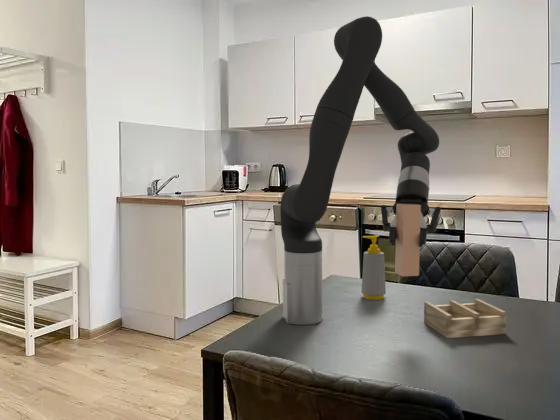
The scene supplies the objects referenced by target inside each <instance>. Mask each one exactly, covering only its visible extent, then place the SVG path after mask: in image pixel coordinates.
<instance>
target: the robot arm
mask: <svg viewBox="0 0 560 420" xmlns="http://www.w3.org/2000/svg"><path fill="white" fill-rule="evenodd" d="M333 37H334V38H333V46H334V50H335V51H336V53H337V55H338V56H339V57H340V59H341V60H342V62H341V65H340V67H339V69H338V72H337V73H336V74H335V77H334V78H333V79H332V81H331V82H330V84H329V85H328V87H327V88H326V89H325V91H324V93H323V94H322V96H321V97H320V99H319V102H318V104H317V107H316V109H315V112H314V115H313V117H312V120H311V125H310V128H309V136H308V138H309V140H308V141H309V142H308V143H309V145H308V148H309V151H308V160H307V164H306V168H305V170H304V173H303V176H302V178H301V181H300V183H297V184H291V185H290V186H288V187H287V188H286V189H285V191H283V193H282V196H281V199H280V207H279V208H280V210H279V211H280V233H281V238H282V242H283V244H284V246H283V247H284V248H283V250H284V251H283V252H284V253H283V254H284V255H283V256H284V257H283V258H284V262H283V263H284V278H283V279H282V317H283V319H284V320H285V322H286V324H292V325H293V324H294V325H301V326H302V325H303V326H307V325H314V324H319V323H321V322H322V320H323V240H322V238H321V236H320V234H319V233H318V230H317V225H316V223H318V222H319V221H320V220H321V219H322V218H323V217H324V215H325V213H326V211H327V210H328V206H329V202H330V197H331V192H332V189H333V188H332V187H333V184H334V179H335V174H336V171H337V168H338V165H339V162H340V159H341V156H342V153H343V150H344V147H345V144H346V140H347V138H348V136H349V132H350V129H351V126H352V124H353V122H354V117H355V113H356V111H357V108H358V105H359V102H360V99H361V96H362V94H363V89H364V87H365V88H366V89H367V91H368V92H369V94H370V95H371V96H372V98H373V99H374V100H375V102H376V103H377V105H378V107H379V108H380V110H381V111H382V113H383V114H384V116H385V118H386V120H387V121H388V123H389V124H390V126H391V128H392V129H393V130H395V131H404V130H405V131H406V130H410V132H408V133H406V134H404V135H402V136H401V137H400V138H399V139H398V141H397V150H398V153H399V157H400V163H401V166H400V173H399V176H398V182H397V187H396V196H395V202H394V203H393V205H392V206H386V205H384V204H382V205H381V206H380V211H381V220H382V227H383V230H384V232H387V231H389V232H388V241H389V242H388V243H390V244H391V246H396V205H397V204H418V205H421V217H420V236H419V247H420V248H423V247H424V246H425V245H426V243H427V238H428V237H427V236H428V234H430V233H431V234H435V233H436V231H437V228H438V226H439V223H440V219H441V216H442V214H441V213H442V210H441V209H442V208H441V207H440V206H436V207H435V208H434V207H433V208H432V207H430V205H429V196H430V195H429V193H430V168H431V161H430V158H429V157H428V156H427V155H429V154H430V153H433V152H435V151H437V149H438V148H439V145H440V138H439V135H438V133H437V131H436V130H435V129H434V128H433V127H432V126H431V125H430V124H429V123H428V122H427V121H426V120H425V119H423V117H422V116H420V114H419V113H418V112H417V111H416V110H415V108H414V106H413V104H412V102H411V101H410V99H409V98H408V96H407V95H406V93H405V91H403V89H402V88H401V87H400V86H399V85H398V84H397V83H396V82H395V81H394V80H392V79H391V78H390V77H389V76H388V75H387V74H385V73H384V72H383V71H382V70H381V68H380V67H379V66H378V65H377V64H376V62H375V60H376V58H377V56H378V54H379V51H380V48H381V46H382V41H383V30H382V26H381V25H380V23H379V21H378V20H377V19H376V18H375V17H372V16H361V17H358V18H356V19H353V20H351V21H350V22H347V23H346V24H344V25H342V26H340V27H339V28H338V29H337V31H336V32H335V34H334V36H333ZM392 213H393V214H394V216H393V217H394V218H393V220H392V221H391V222H389V220H388V218H389V217H390V216H391V214H392ZM428 214H430V218H431V219H430V223H429V224H427V222H426V221H425V217H427V216H428Z"/></svg>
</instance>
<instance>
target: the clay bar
mask: <svg viewBox="0 0 560 420" xmlns="http://www.w3.org/2000/svg"><path fill="white" fill-rule="evenodd" d="M420 217H421V205H418V204H397V205H396V242H395V254H394V255H395V258H394V259H395V260H394V261H395V262H394V263H395V264H394V268H395V269H394V273H395V274H397V275H398V276H401V277H419V276H420V250H421V247H419V236H420Z"/></svg>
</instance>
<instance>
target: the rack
mask: <svg viewBox="0 0 560 420" xmlns="http://www.w3.org/2000/svg"><path fill="white" fill-rule="evenodd" d="M473 301H474V302H467V303H460V302H458V301H455V300H454V299H450V300H449V303H448V304H433V303H432V302H430V301H424V302H423V305H424V306H423V308H424V309H423V322H424V323H425V324H426V325H427V326H429V327H430V328H432V329H433V330H435V331H436V332H438V333H439V334H441V335H442V336H444V337H445V338H446V339H453V338H466V337H467V338H468V337H482V336H495V335H497V336H498V335H506V334H507V333H506V331H507V311H505V310H503V309H501V308H498V307H497V306H494V305H492V304H490V303H488V302H485V301H484V300H482V299H480V298H474V299H473Z"/></svg>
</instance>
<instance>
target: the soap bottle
mask: <svg viewBox="0 0 560 420" xmlns="http://www.w3.org/2000/svg"><path fill="white" fill-rule="evenodd" d="M379 237H380V235H379V234H376V235H363V236H362V238H363V239H364V238H365V239H369V240H371V242H372V244H370V245H369V247H368V248H367V251H364V252H363V258H362V259H363V260H362V263H363V264H362V273H361V274H362V277H361V294H363V298H364V299H367V300H372V301H373V300H374V301H375V300H376V301H377V300H382V299H384V296H385V295H386V294H387V292H386V270H385V268H386V267H385V252H383V251H381V249H380V248H379V245H378V244H376V242H377V238H379Z"/></svg>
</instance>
